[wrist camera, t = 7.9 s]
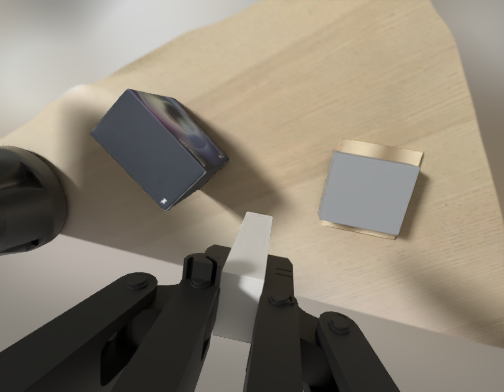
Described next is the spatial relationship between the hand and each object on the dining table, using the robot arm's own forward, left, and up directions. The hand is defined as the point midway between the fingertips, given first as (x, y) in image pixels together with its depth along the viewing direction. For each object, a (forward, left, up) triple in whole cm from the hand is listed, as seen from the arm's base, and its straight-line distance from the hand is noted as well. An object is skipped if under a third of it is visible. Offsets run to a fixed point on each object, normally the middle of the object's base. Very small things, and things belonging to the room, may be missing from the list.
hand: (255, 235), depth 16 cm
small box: (-12, +1, -21) cm, 24 cm away
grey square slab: (+6, 0, -19) cm, 20 cm away
